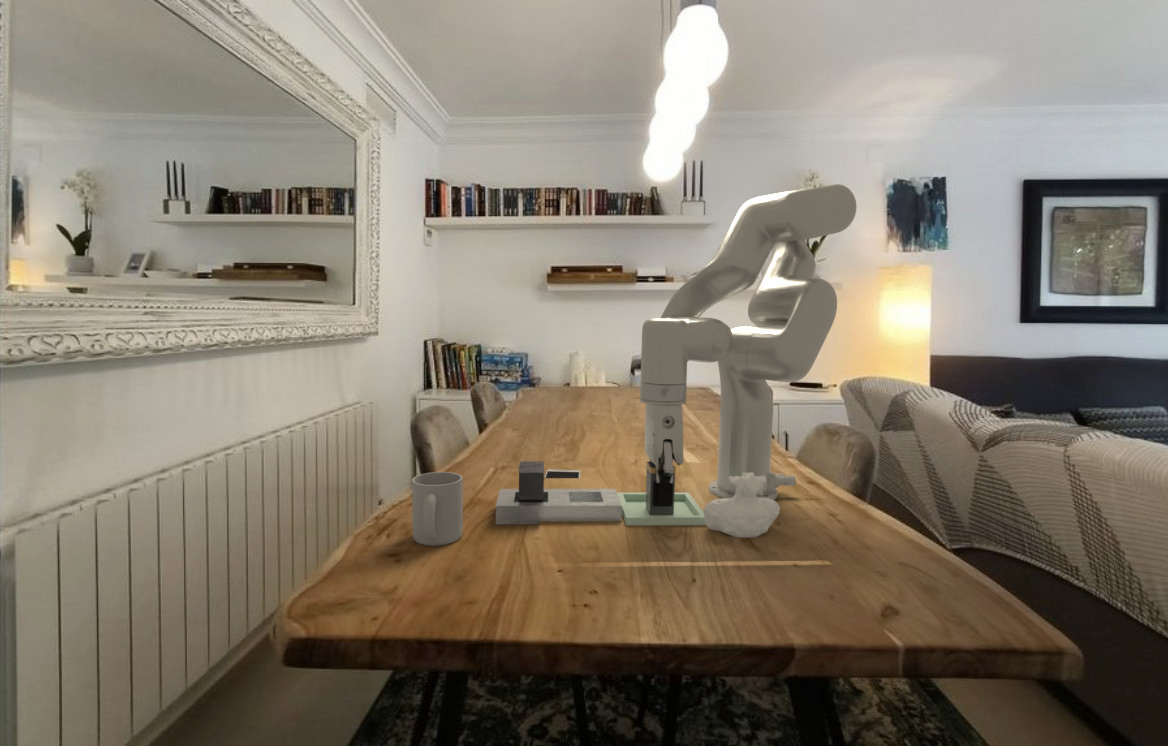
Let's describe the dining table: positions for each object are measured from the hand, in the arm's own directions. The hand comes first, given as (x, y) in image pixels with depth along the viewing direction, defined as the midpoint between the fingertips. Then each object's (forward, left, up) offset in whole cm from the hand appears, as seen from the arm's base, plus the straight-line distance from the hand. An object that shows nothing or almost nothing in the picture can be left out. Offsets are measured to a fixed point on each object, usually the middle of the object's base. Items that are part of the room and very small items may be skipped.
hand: (659, 500), depth 99 cm
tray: (0, 0, -2) cm, 2 cm away
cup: (+35, +11, -3) cm, 37 cm away
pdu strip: (+17, 0, -2) cm, 17 cm away
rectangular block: (0, 0, -2) cm, 2 cm away
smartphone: (+16, -19, -3) cm, 25 cm away
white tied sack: (-11, +10, -3) cm, 15 cm away
